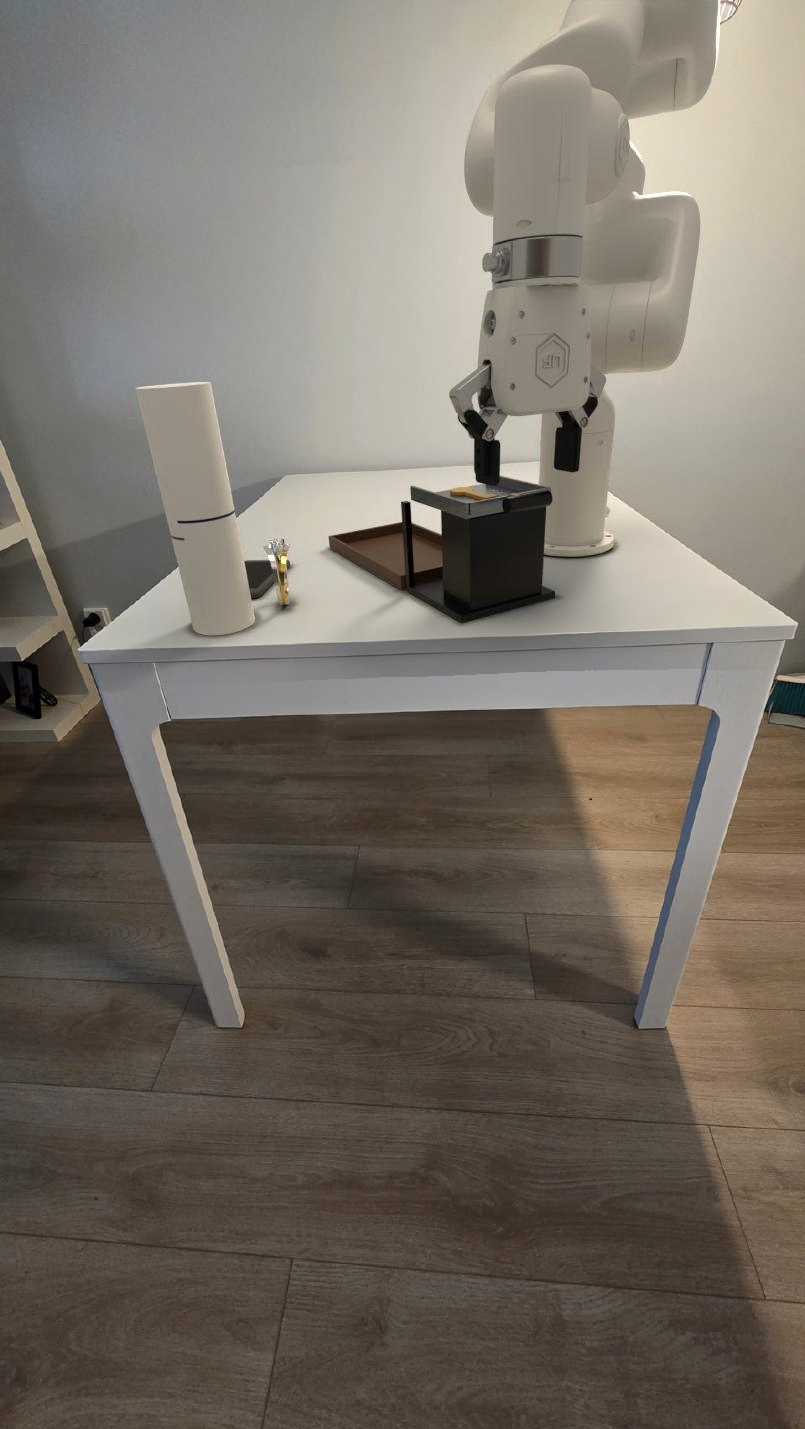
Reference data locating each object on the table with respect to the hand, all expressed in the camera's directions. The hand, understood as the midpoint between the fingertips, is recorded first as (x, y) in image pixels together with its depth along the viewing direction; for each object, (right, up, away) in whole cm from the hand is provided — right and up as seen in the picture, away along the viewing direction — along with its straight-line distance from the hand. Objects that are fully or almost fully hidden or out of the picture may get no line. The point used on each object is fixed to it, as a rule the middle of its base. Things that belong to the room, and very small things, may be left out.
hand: (527, 477), depth 64 cm
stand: (-3, -9, +15) cm, 18 cm away
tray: (-12, -1, +30) cm, 32 cm away
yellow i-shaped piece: (-4, +1, +10) cm, 11 cm away
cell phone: (-33, -5, +24) cm, 42 cm away
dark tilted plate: (-3, 0, +8) cm, 8 cm away
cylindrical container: (-33, -13, +12) cm, 38 cm away
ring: (-27, -10, +16) cm, 33 cm away
